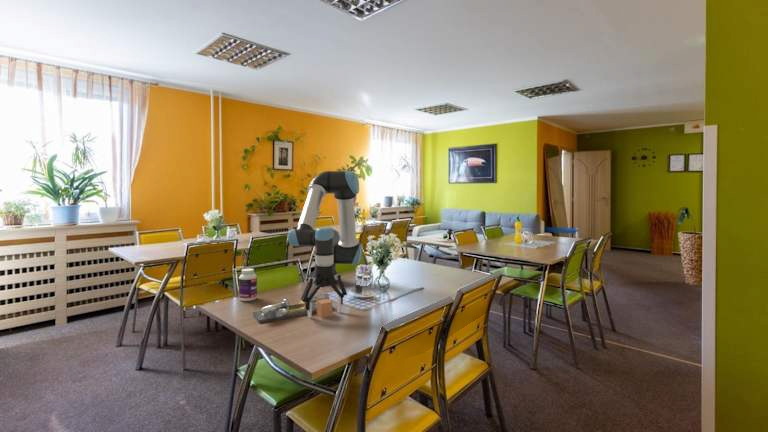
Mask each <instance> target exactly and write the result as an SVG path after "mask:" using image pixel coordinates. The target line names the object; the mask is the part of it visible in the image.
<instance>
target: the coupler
mask: <svg viewBox="0 0 768 432" xmlns="http://www.w3.org/2000/svg"><path fill="white" fill-rule="evenodd" d="M332 306H333V301H331V300H330V298H329V299H324V300H318V301H317V313H316V315H317V316H318V317H319V318H321V319H322V318H329V317H333V310H332Z"/></svg>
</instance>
